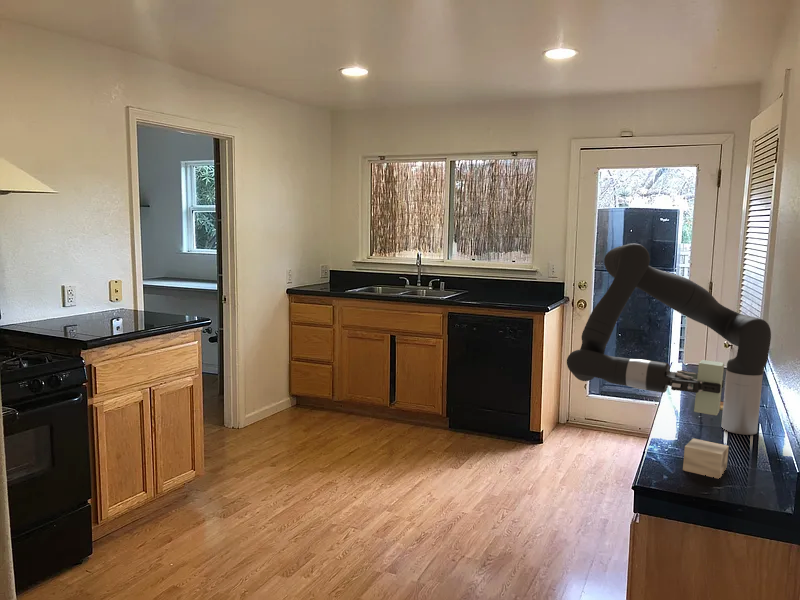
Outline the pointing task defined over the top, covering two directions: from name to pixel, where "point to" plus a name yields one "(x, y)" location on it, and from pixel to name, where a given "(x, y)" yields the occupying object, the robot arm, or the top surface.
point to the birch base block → (705, 458)
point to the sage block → (704, 399)
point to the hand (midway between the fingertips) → (721, 386)
